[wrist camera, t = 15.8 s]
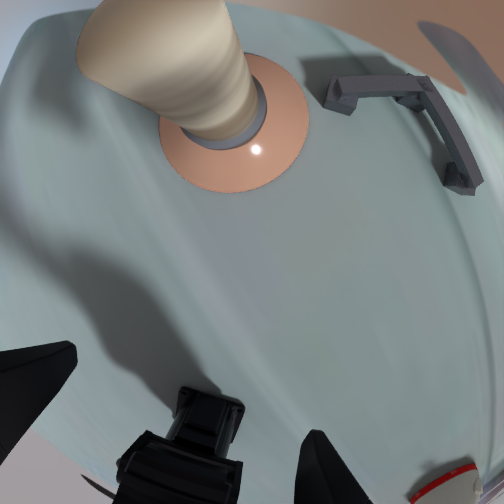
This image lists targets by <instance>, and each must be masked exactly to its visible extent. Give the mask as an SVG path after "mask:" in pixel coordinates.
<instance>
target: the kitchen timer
mask: <svg viewBox="0 0 504 504" xmlns="http://www.w3.org/2000/svg"><path fill="white" fill-rule="evenodd" d="M482 493H483V489H482V483H481V478H480V477H479V472H478V470H477V467H476V465H475V464H469V465H465V466H462V467H460V468H457V469H455V470H453V471H451V472H449V473H447V474H445V475H444V476H442V477H440V478H438V479H436V480H435V481H433V482H432V483H430V484H428V485H427V486H426V487H424V488H423V489H421V490H420V491H419V492H418V493H417V494H415V495H414V496H413V498H412V499H411V504H478V501H479V497H480V494H482Z"/></svg>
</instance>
